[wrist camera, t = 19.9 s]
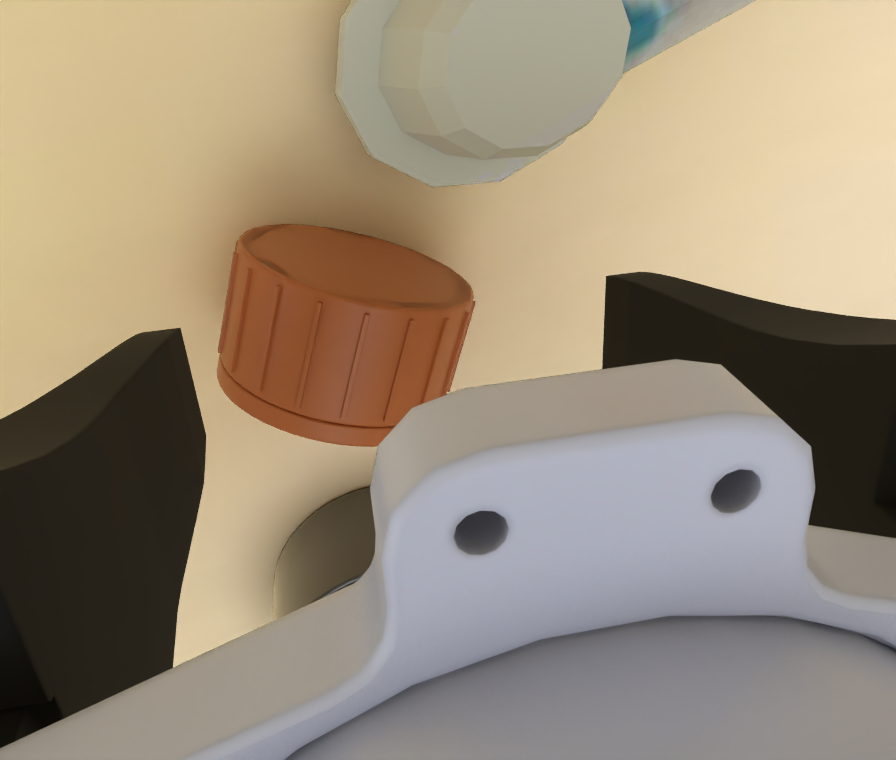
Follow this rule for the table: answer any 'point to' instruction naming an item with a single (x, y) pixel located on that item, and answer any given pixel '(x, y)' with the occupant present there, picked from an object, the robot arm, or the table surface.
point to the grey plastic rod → (493, 75)
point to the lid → (338, 331)
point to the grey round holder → (325, 553)
